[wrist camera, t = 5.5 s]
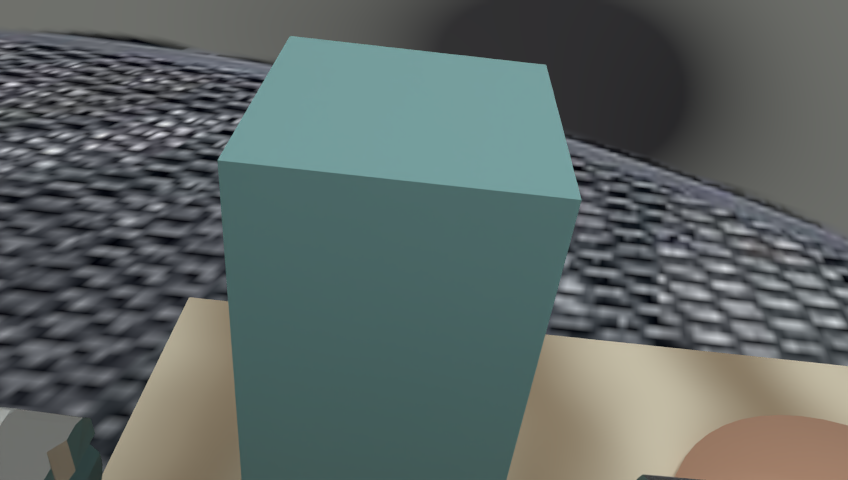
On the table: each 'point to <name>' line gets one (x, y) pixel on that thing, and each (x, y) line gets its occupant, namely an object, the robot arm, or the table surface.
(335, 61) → the peg
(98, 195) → the table surface
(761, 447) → the tan flat disc
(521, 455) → the pocket board
